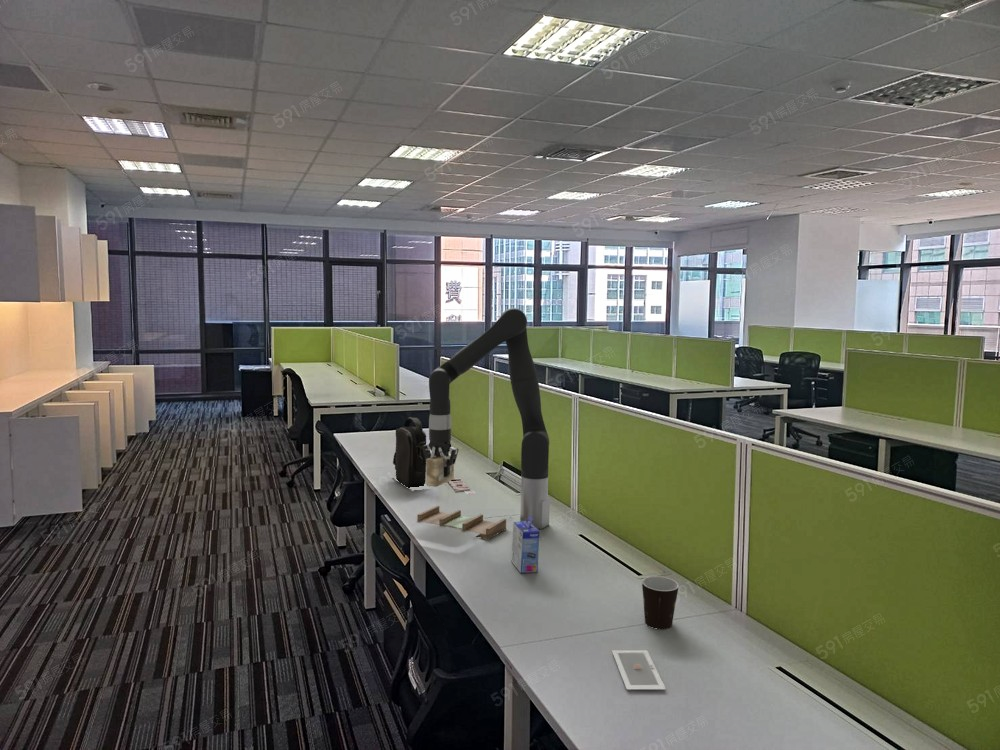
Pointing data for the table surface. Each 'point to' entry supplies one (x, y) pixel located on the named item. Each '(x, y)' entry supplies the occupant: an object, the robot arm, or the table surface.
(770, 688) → the table surface
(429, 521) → the notched rack
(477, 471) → the table surface
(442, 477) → the tall beige wooden block
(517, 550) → the ink cartridge box
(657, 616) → the coffee mug
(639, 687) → the touchpad
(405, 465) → the shoulder bag
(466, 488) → the plaque
